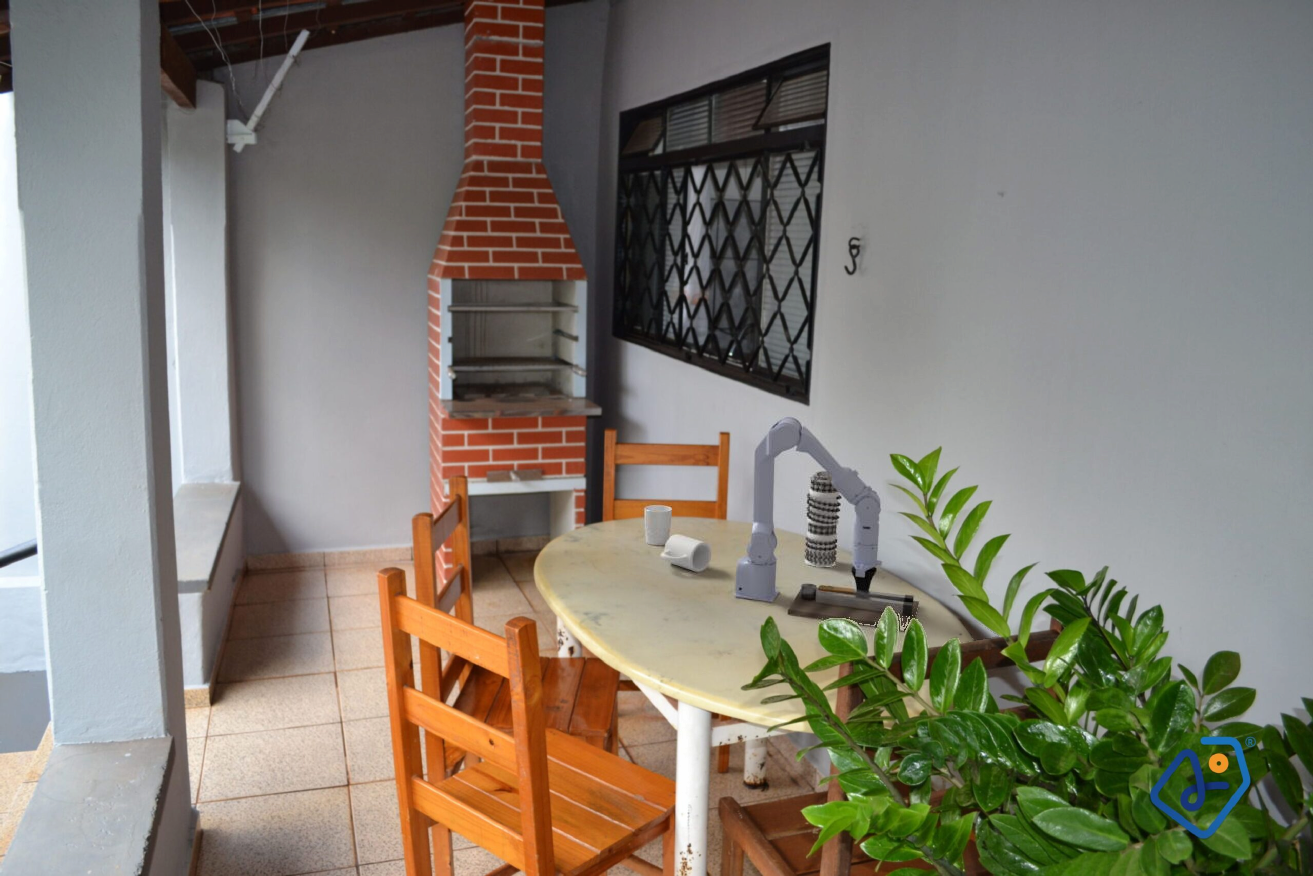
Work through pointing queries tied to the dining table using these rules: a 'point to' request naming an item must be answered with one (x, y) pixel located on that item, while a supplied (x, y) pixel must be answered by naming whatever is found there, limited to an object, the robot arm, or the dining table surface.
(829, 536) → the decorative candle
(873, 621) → the walnut board
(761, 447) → the robot arm
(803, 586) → the tong arm
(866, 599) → the grey long bar
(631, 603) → the dining table surface
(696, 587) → the dining table surface
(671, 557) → the mug
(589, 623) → the dining table surface
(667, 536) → the white cup
